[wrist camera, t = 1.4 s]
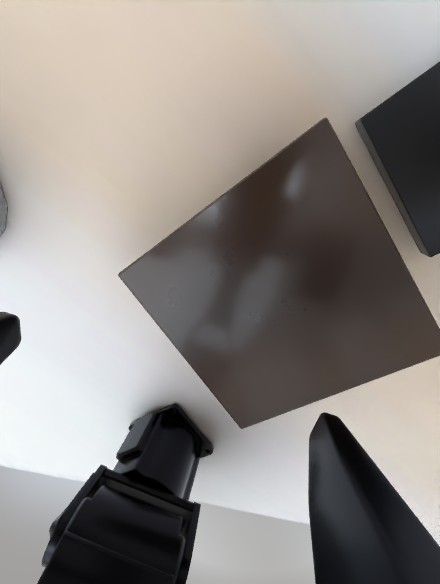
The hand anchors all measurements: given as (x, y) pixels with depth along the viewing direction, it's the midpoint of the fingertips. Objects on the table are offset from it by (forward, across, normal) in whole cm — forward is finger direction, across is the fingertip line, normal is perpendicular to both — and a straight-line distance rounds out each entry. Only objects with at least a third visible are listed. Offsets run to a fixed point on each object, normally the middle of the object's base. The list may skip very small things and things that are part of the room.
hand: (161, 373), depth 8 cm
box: (+13, -3, 0) cm, 14 cm away
